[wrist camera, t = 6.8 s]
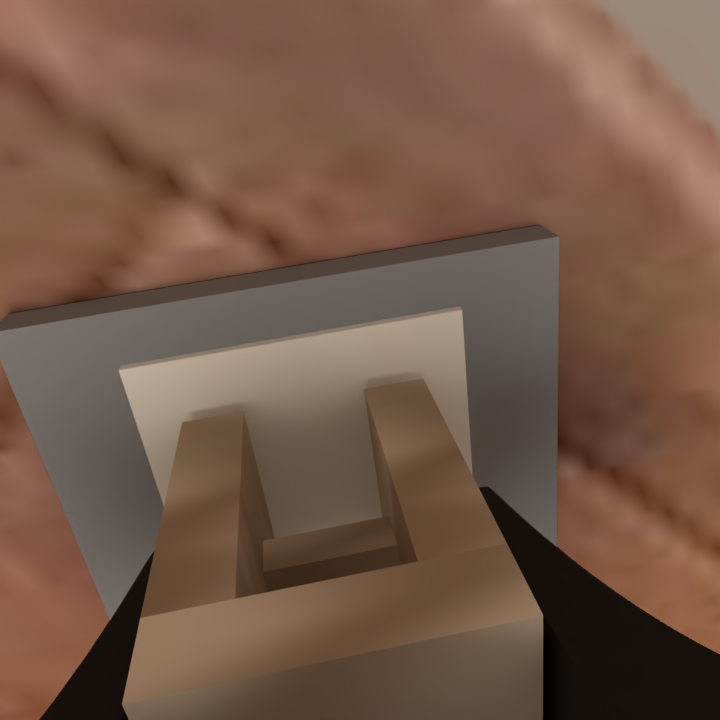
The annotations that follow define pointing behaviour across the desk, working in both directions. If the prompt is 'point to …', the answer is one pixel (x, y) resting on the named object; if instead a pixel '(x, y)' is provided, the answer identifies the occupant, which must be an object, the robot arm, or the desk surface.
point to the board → (294, 384)
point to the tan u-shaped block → (335, 590)
